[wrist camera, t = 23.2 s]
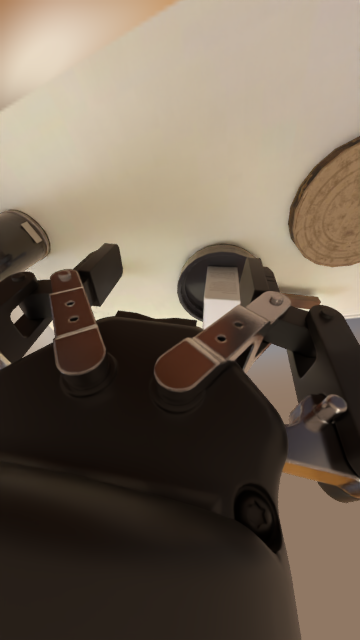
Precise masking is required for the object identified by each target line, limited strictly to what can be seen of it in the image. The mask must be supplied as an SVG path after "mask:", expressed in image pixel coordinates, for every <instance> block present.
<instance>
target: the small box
mask: <svg viewBox="0 0 360 640" xmlns="http://www.w3.org/2000/svg"><path fill="white" fill-rule="evenodd" d="M239 304H241V302H240V293H239V278H238V269H237V267H216V266H208V268H207V276H206V284H205V293H204V314H203V329H206V328H207V327H208V326H210V325H211V324H212V323H214V322H215V321H217V320H218V319H219V318H221V317H222V316H223V315H225V314H226V313H227V312H229V311H230V310H231V309H233V308H234V307H236V306H237V305H239Z"/></svg>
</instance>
